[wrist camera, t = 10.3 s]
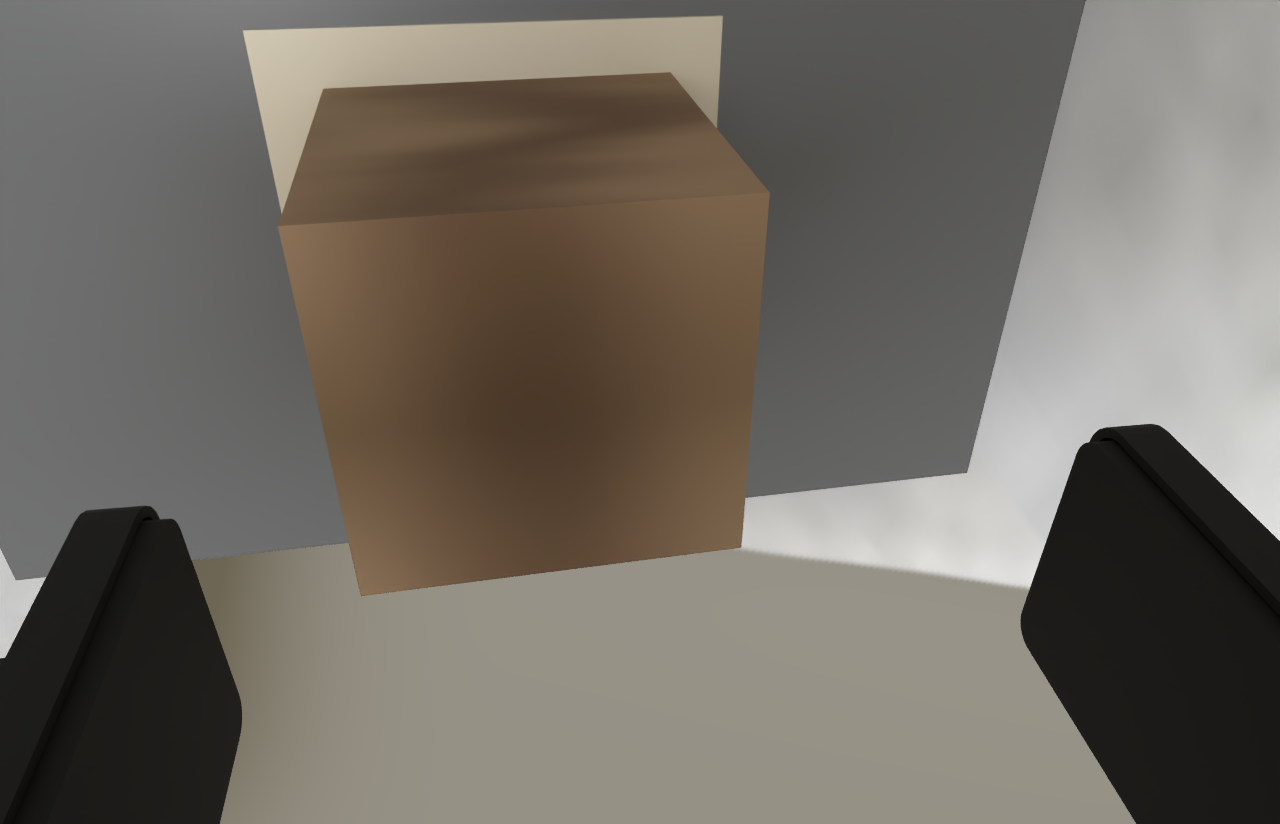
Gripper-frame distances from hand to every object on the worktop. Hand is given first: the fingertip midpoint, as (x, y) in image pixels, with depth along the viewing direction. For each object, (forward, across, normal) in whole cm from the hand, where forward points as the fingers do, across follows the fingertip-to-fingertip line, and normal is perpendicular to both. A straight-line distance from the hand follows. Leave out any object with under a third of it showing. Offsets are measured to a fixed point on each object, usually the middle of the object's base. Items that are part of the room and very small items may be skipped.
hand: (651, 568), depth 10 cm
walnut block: (+10, +1, +1) cm, 10 cm away
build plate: (+11, +1, +1) cm, 11 cm away
